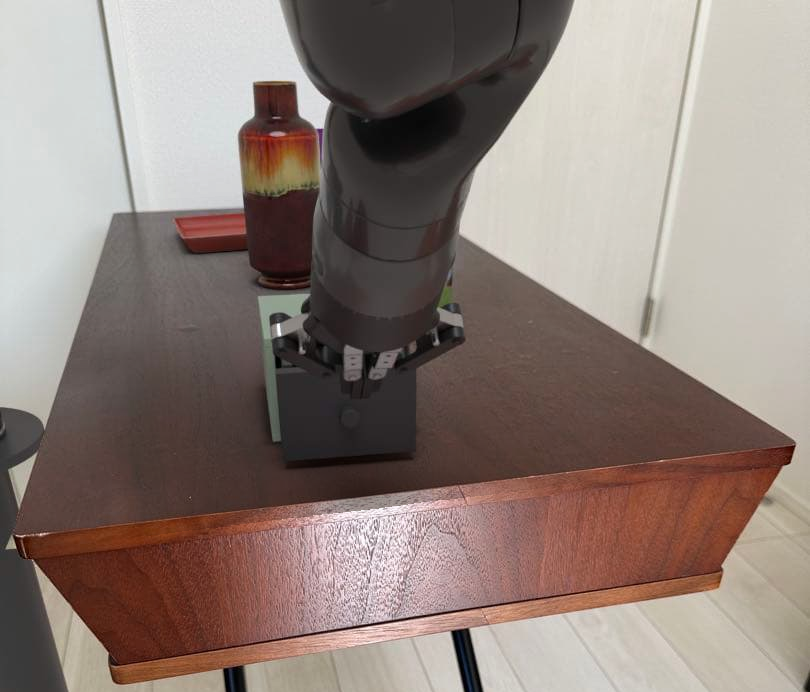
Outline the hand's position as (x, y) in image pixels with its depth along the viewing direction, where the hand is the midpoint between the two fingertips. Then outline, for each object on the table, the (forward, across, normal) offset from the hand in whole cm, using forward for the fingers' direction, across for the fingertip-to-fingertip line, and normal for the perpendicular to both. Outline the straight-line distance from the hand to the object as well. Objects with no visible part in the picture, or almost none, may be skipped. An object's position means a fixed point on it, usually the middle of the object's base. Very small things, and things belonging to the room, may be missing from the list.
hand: (357, 387), depth 62 cm
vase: (+56, +1, -42) cm, 70 cm away
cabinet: (+20, 0, -7) cm, 22 cm away
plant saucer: (+76, +9, -63) cm, 99 cm away
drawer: (+15, 0, -2) cm, 15 cm away
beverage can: (+36, -14, -22) cm, 45 cm away
